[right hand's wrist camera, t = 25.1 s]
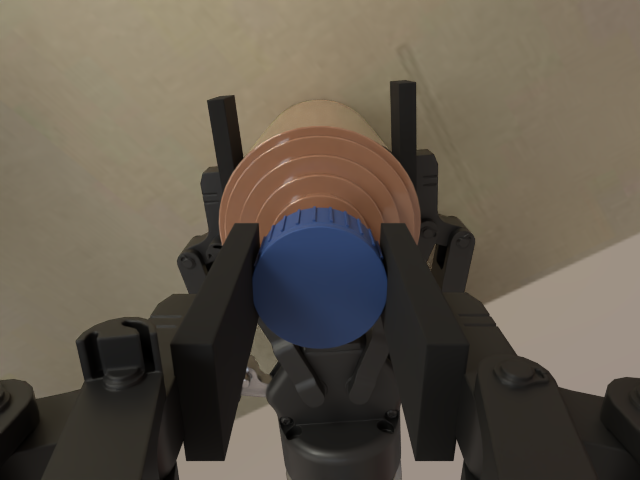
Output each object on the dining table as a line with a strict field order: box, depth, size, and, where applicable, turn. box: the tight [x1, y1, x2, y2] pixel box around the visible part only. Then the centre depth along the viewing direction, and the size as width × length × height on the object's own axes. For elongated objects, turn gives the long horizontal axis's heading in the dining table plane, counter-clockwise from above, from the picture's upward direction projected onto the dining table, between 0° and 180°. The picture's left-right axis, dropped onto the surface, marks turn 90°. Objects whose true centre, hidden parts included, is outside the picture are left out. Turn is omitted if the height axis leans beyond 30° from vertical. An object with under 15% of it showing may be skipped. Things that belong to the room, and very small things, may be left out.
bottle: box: [219, 100, 421, 246], centre depth 21 cm, size 8×8×17 cm
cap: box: [252, 206, 387, 349], centre depth 14 cm, size 4×4×2 cm
